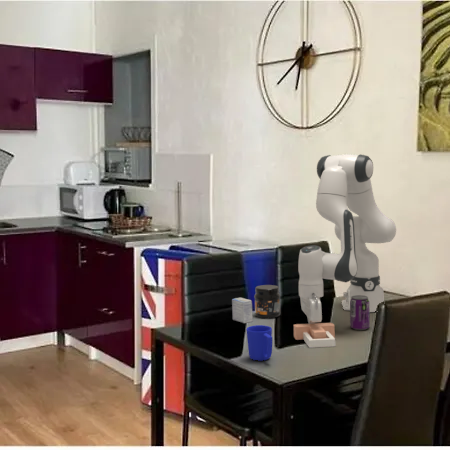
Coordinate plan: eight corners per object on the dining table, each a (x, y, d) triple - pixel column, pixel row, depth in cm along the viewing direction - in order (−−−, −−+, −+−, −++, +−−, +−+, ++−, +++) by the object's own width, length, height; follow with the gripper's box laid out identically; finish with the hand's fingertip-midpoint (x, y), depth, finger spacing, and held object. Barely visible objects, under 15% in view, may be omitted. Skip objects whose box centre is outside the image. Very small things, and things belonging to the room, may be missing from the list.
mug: (259, 367, 202) (258, 336, 201) (242, 357, 213) (242, 327, 212) (282, 363, 205) (282, 332, 204) (265, 353, 216) (264, 324, 215)
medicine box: (252, 321, 259) (252, 300, 258) (243, 323, 256) (243, 302, 255) (241, 318, 265) (240, 297, 264) (232, 319, 263) (231, 298, 262)
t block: (293, 336, 236) (293, 324, 235) (332, 334, 237) (331, 322, 236) (300, 346, 224) (299, 333, 223) (340, 344, 225) (340, 331, 224)
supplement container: (249, 316, 268) (248, 287, 267) (268, 311, 275) (268, 283, 274) (266, 320, 260) (266, 290, 259) (286, 315, 267) (285, 287, 265)
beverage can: (369, 331, 240) (369, 299, 239) (350, 330, 241) (349, 298, 240) (369, 326, 247) (369, 295, 246) (350, 325, 248) (350, 294, 247)
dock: (303, 339, 232) (303, 332, 232) (328, 337, 233) (328, 331, 232) (309, 347, 221) (309, 340, 221) (335, 346, 222) (335, 339, 222)
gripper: (326, 296, 226) (326, 335, 227) (314, 285, 246) (314, 321, 247) (307, 297, 225) (308, 336, 227) (297, 286, 246) (298, 322, 247)
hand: (311, 328), depth 237 cm, fingers closed
